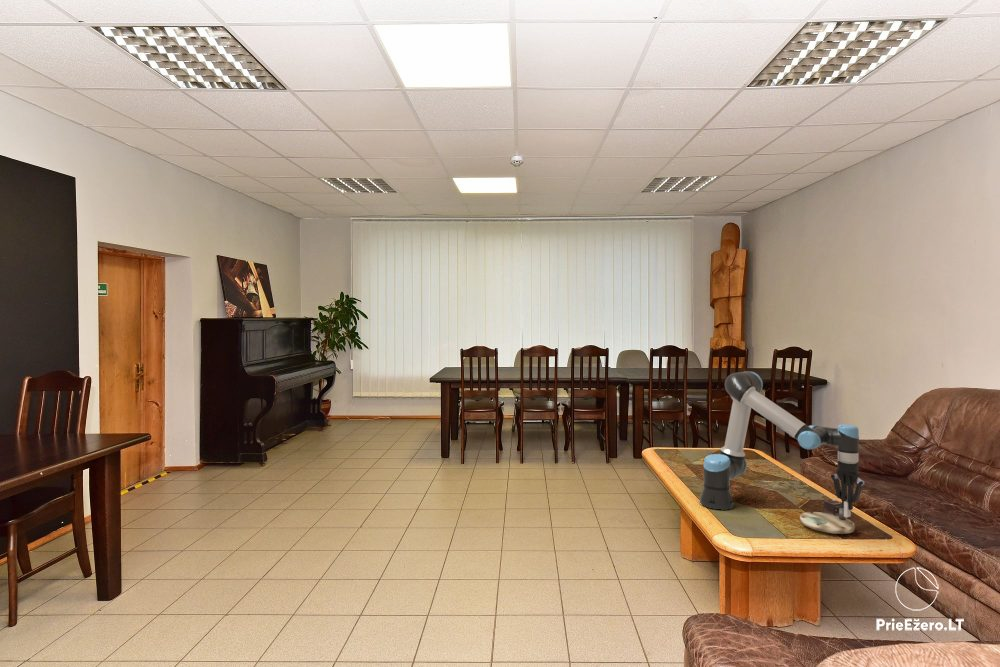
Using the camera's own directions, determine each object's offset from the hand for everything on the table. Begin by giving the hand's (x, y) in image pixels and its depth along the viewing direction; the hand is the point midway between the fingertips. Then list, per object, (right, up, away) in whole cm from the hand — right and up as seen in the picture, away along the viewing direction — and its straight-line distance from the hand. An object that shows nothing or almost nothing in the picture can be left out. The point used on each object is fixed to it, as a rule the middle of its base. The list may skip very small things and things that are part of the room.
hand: (847, 516), depth 231 cm
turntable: (-8, -4, +1) cm, 9 cm away
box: (+2, -5, +13) cm, 14 cm away
